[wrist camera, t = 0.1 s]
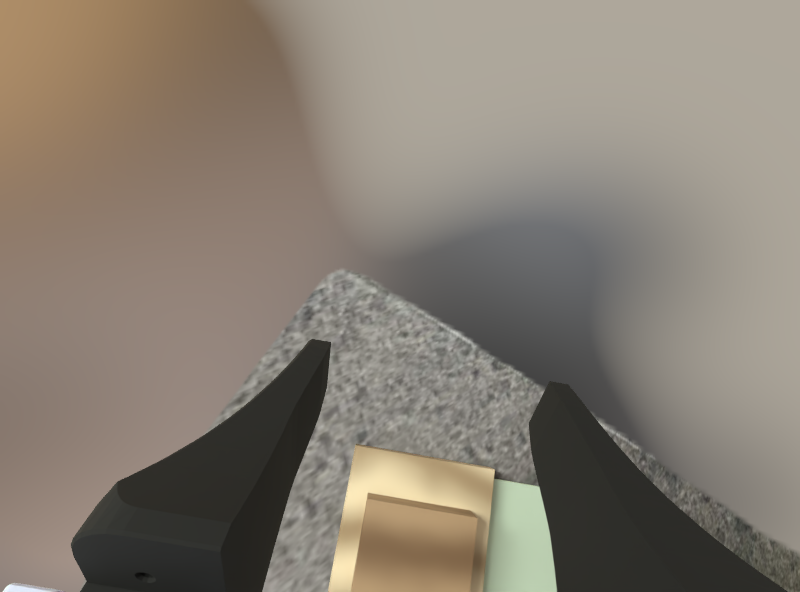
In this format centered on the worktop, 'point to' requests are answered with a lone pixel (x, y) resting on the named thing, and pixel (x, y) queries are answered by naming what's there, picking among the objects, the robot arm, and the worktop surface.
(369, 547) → the walnut tile
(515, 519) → the sage mat
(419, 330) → the worktop surface
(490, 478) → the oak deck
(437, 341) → the worktop surface
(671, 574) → the robot arm
